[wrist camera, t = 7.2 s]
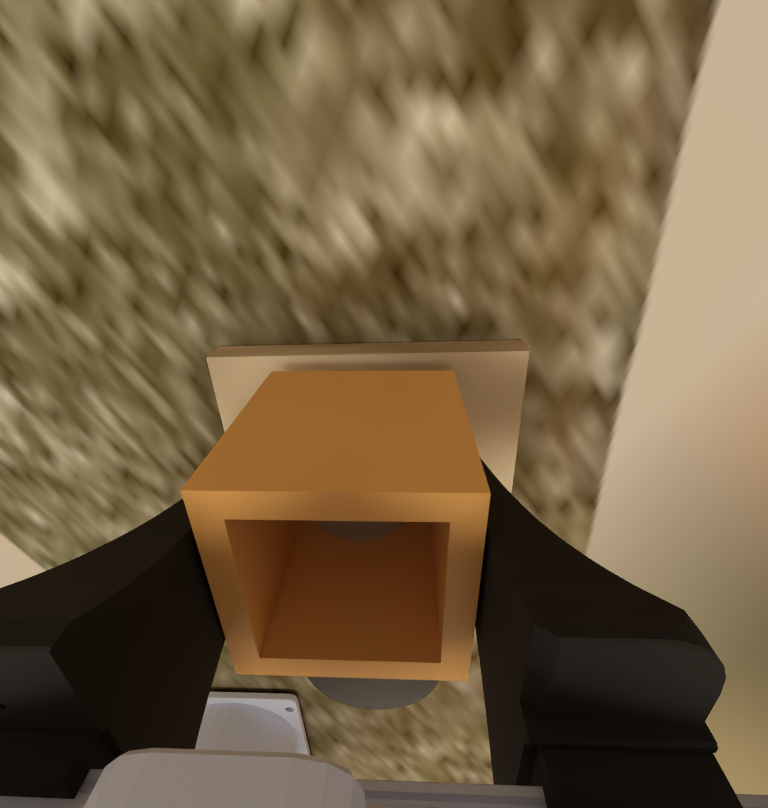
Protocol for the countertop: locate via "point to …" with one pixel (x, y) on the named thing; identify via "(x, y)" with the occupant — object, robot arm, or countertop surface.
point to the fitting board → (471, 361)
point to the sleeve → (345, 501)
